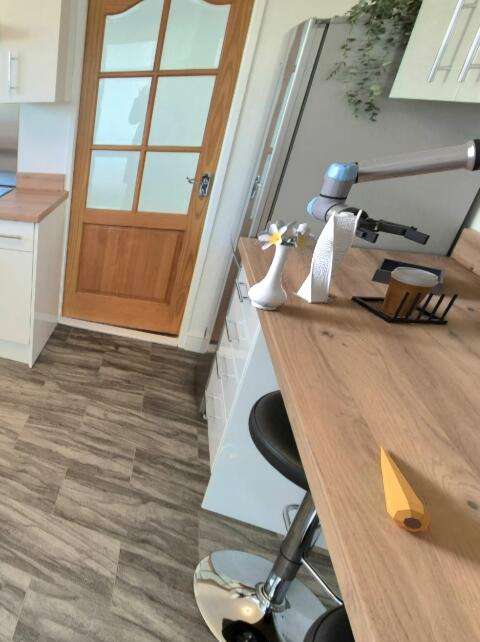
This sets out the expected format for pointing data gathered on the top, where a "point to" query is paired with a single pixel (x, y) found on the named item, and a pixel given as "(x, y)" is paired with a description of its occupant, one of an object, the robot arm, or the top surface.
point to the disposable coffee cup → (407, 288)
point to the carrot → (402, 498)
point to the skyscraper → (329, 256)
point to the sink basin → (390, 265)
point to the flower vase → (279, 261)
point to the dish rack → (422, 310)
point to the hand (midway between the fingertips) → (401, 239)
